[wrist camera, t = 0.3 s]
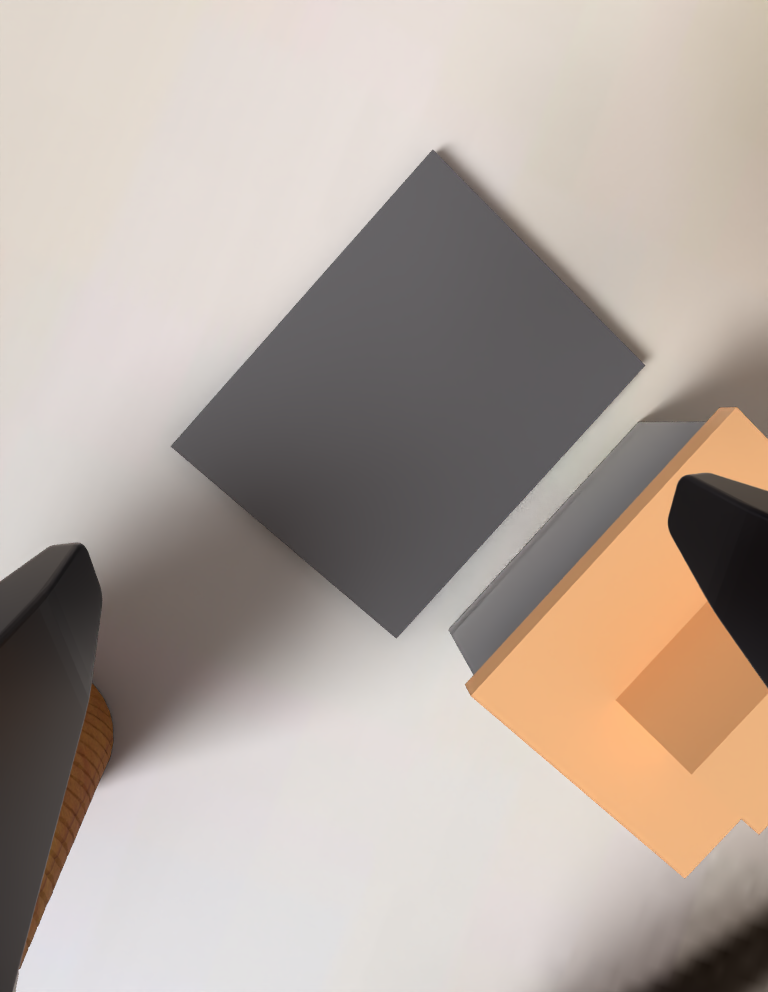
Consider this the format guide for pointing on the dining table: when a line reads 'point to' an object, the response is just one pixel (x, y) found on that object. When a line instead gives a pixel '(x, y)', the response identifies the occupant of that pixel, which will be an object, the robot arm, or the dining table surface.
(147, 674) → the dining table surface
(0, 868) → the robot arm
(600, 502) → the tub
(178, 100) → the dining table surface
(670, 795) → the lid
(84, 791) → the disposable coffee cup
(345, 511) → the mat
